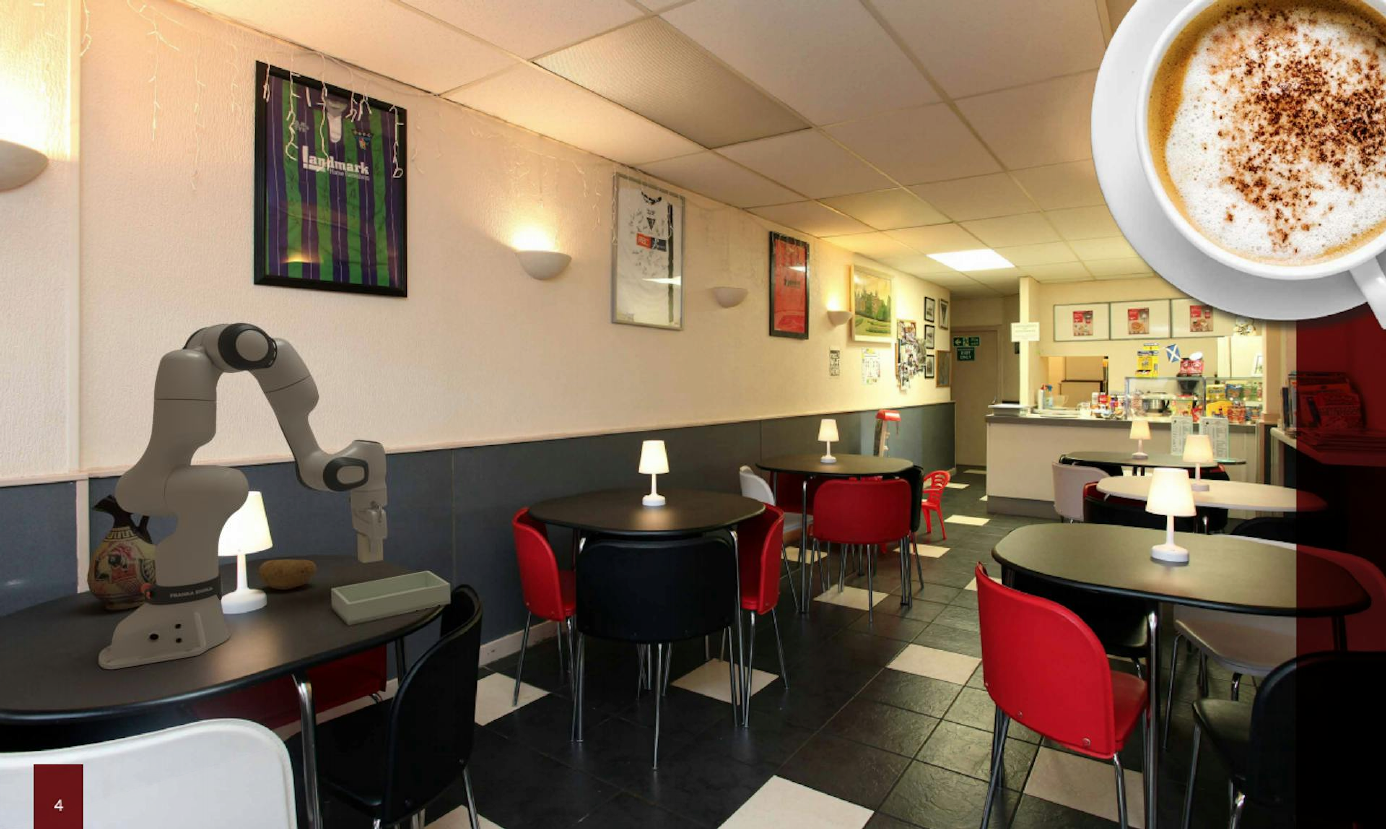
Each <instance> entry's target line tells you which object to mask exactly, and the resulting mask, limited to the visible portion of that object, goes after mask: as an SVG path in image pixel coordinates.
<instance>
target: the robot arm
mask: <svg viewBox="0 0 1386 829" xmlns="http://www.w3.org/2000/svg"><path fill="white" fill-rule="evenodd" d="M240 372H248V373H250V374H251V376H253V377H254V378H255V379H256V381H257V382H258V385H259V387H260V389H261V390H262V393H263V395H264V396H265V398H266V400H267V401H268V404H269V406H270V407H271V409H272V411H273V414H274V415H275V418H276V420H277V423H278V425H279V427H280V430H281V432H282V434H283V437H284V439H285V441H286V443H287V445H288V448H289V449H290V452H291V454H292V456H293V459H294V460H293V461H294V467H295V468H294V469H295V477H296V479H297V481H298V483H299V484H300V485H301V486H302V487H303V488H305V489H306V490H310V491H324V492H331V493H344V492H347V491H350V495H348V504H349V505H350V514H351V523H352V527H353V529H354V530H355V531H357V532H359V533H362V534H364V535H366V536H367V537H369V538H370V546H369V552H370V553H371V554H375V553H377V552H378V544H379V540H381V539H383V540H385V539H387V537H388V524H387V522H388V521H387V513H386V511H385V510H384V509H383V507H386V506H387V505H388V492H387V491H388V490H387V489H388V488H387V483H386V475H387V459H386V458H387V457H386V451H385V449H384V446H383V444H382V443H381V442H378V441H374V440H366V439H355V440H353V441H351V443H350V444H348V445H347V446H346V447H345V448H343V449H342V450H339V451H337V452H334V454H332V453H328V452H326V451H324V450H323V449H322V448H321V447H320V445H319V443H318V441H317V439H316V437H315V435H314V433H313V429H312V428H311V424H310V421H309V416H310V414H311V412H313V411H314V410H315V409H316V407H317V405H318V402H319V400H320V395H319V389H318V387H317V384H316V382H315V380H314V378H313V376H312V374H311V372H310V370H309V368H308V366H307V364H306V363H305V362H304V360H303V359H302V356H300V354H299V353H298V351H297V350H296V349H295V348H294V347H293V345H292V344H291V343H290V342H289V341H288V340H286V339H285V338H284V339H283V338H280V337H271V336H270V335H269V334H268V333H267V332H266V331H264V329H262V328H261V327H259V326H257V325H254V324H252V323H246V322H236V323H219V324H215V325H210V326H207V327H202V328H200V329H197V330H196V331H194V332H193V333H192V334H191V335H190V336H189V337H188V338H187V340H186V342H185V344H184V345H183V347H182V348H181V349H175V350H172V351H169V352H167V353H165V354H164V355H163V356H161V358H160V361H159V365H158V368H157V371H156V376H155V381H154V391H153V411H152V412H153V413H152V425H151V434H150V438H149V441H148V444H147V446H146V449H145V451H144V452H143V454H142V455H141V457H140V458H139V460H138V461H137V462H136V463H135V464H134V465H133V466H132V467H131V468H129V469H128V470H127V471H125V472H124V473H123V474H122V475H120V477H119V479H118V481H117V482H116V486H115V489H114V490H115V491H114V497H115V498H116V500H117V502H118V504H119V506H120V507H121V508H122V509H123V510H125V511H127V512H130V513H134V515H135V514H136V515H141V516H143V515H145V516H150V517H177V525H176V529H175V531H174V533H172V534H170V535H168V536H166V537H165V538H163V539H162V540H161V541H159V543H157V545H156V549H155V552H154V553H155V572H156V582H155V583H154V584H151V583H145V584H143V586H141V591H142V593H144V598H145V603H144V604H143V605H141V606H138V608H136V609H135V610H134V611H133V612H132V613H130V614H129V615H128V616H126V617H125V618H123V619H122V620H121V621H120V622H119V623H118V624H117V625H116V628H115V630H114V631H113V633H112V634H113V635H112V639H111V644H110V645H108V646H106V647H105V648H103V649H102V650H101V651H100V652H99V655H98V665H99V666H100V667H101V668H102V669H106V670H115V669H122V668H123V669H125V668H128V667H135V666H140V665H147V664H153V663H158V662H166V661H172V660H179V659H184V658H190V657H194V656H199V655H201V654H203V653H205V652H206V651H208V650H209V649H212V648H214V647H217V646H219V645H221V644H223V643H225V642H226V641H227V640H229V639H230V637H231V632H230V630H229V628H228V625H227V622H226V618H225V614H224V609H223V605H222V599H223V592H224V591H223V578H222V576H221V573H220V571H219V545H220V544H219V543H220V542H219V541H220V539H221V538H220V537H221V535H222V531H223V529H224V526H226V523H227V522H228V521H229V519H230V518H231V517H232V516H234V514H236V512H238V511H239V510H240V509H242V507H243V506H244V505H245V503H246V502H247V499H248V497H249V494H250V486H249V485H250V484H249V481H248V479H247V477H246V475H245V474H244V473H243V472H242V471H241V470H240V469H237V468H233V467H228V466H223V465H217V464H192V459H193V458H194V455H195V453H196V452H197V451H198V449H199V448H201V447H203V446H206V444H207V445H208V444H209V443H210V442H211V441H212V440H213V439H214V438H215V436H216V432H217V410H218V409H217V401H218V400H217V398H218V397H217V387H218V383H219V380H220V378H221V376H222V375H223V374H224V373H225V374H234V373H240ZM150 584H151V585H150Z"/></svg>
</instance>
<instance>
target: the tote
mask: <svg viewBox="0 0 1386 829" xmlns="http://www.w3.org/2000/svg"><path fill="white" fill-rule="evenodd" d="M330 594H331V595H330V596H331V609H332V610H333V611H334V612H335V613H336V614H337V615H338V616H339V618H341V619H342V621H344V623H345V624H346V625H347V626H349V627H350V626H354V625H358V624H362V623H368V622H371V621H377V620H382V619H385V618H389V617H393V616H395V617H396V616H399V615H402V614H408V613H412V612H416V610H418V611H422V610H425V609H426V608H427V609H430V608H435V607H439V606H438V605H440V606H444V605H450V604H451V601H452V600H451V584H450V583H449V582H447V581H446V580H445V579H443V578H441V577H439V576H438V575H436V574H435V573H433V572H431V571H429V570H424V571H419V572H418V571H417V572H415V573H413V572H412V573H409V574H403V575H398V576H393V577H387V578H382V579H375V580H369V581H365V582H360V583H355V584H348V585H343V586H337V587H332V588H331V591H330Z"/></svg>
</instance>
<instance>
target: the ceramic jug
mask: <svg viewBox="0 0 1386 829" xmlns="http://www.w3.org/2000/svg"><path fill="white" fill-rule="evenodd" d="M90 510H91V511H95V512H100V513H105V514H109V515H110V516H112V517H113V519H114V520H113V526H112V527H111V529H110V531H109V532H107V534H106V536H104V538H103V540H101V543H100V544H99V545H98V547H97V549H96V551H95V552H94V553H93V556H92V558H91V561H90V563H89V567H88V572H87V575H86V576H87V577H86V578H87V579H86V581H87V587H88V589H89V591H90V593H91V594H92V595H93V597H94V598H96V599H97V600H99V601H100V602H101V603H102V604H104V605H105V609H106V610H108V611H109V610H110V611H118V610H128V608H129V609H133V608H136V607H140V606H142V605H143V604H144V603H145V598H144V593H142V591H141V586H143V584H145V583H151V584H154V583H155V582H156V572H155V553H154V552H155V549H156V547H157V545H156V544H154V542H153V540H152V537H151V534H150V532H149V530H148V528H147V527H148V523H149V520H150V517H151V516H145V515H141V516H142V517H141V518H140V521H139V525H138V526H137V525H136V523H135V522H134V520H133V519H132V516H131V515H135V513H130V512H127V511H125V510H123V509H122V508H121V507H120V506H119V504H118V502H117V500H116V496H115V495H113V494H107V496H106V497H103V498H101V499H100V500H99V501H98V502H97V503H96V504H95V505H94V506H92V507H91V508H90ZM151 584H150V585H151Z"/></svg>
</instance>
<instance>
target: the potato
mask: <svg viewBox="0 0 1386 829" xmlns="http://www.w3.org/2000/svg"><path fill="white" fill-rule="evenodd" d="M257 572H258V576H259V579H260V580H261V582H262V583H263V584H264V585H265V586H268V587H270V588H272V589H275V590H282V591H284V590H287V591H288V590H291V589H294V588H297V587H302V586H304V585H305V584H307V583H308V582H309V581H310V580H311V579H312V578H313V577H314V576H315V575H316V572H317V565H316V563H315V562H313V561H312V560H308V559H292V558H291V559H290V558H289V559H288V558H287V559H286V558H285V559H284V558H283V559H270V560H266V561H264V562H262V564H260V566H259V568H258V570H257Z"/></svg>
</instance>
